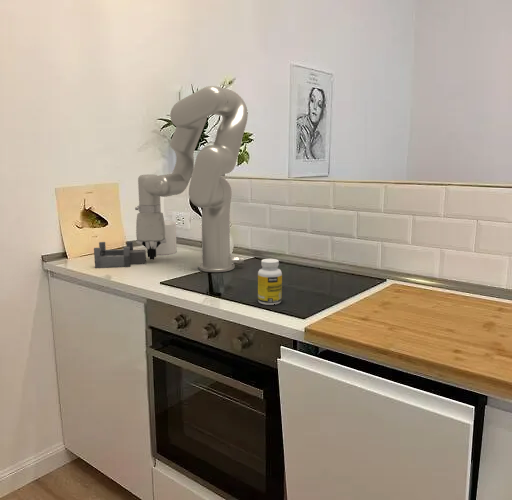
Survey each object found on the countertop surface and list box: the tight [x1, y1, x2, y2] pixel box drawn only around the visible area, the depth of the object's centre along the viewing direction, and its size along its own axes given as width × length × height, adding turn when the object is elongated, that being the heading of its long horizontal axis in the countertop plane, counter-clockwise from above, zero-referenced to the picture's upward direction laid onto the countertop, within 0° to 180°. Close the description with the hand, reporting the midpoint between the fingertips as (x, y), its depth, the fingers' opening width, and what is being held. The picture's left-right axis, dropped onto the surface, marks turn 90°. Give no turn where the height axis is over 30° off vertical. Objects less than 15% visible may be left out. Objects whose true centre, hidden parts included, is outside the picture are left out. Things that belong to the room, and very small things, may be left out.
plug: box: [130, 248, 147, 266], centre depth 184 cm, size 9×5×4 cm, turn 98°
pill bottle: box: [257, 258, 283, 306], centre depth 137 cm, size 6×6×12 cm
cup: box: [146, 220, 177, 256], centre depth 202 cm, size 12×12×12 cm
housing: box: [93, 240, 134, 269], centre depth 183 cm, size 12×12×7 cm
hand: (152, 259), depth 185 cm, fingers closed
